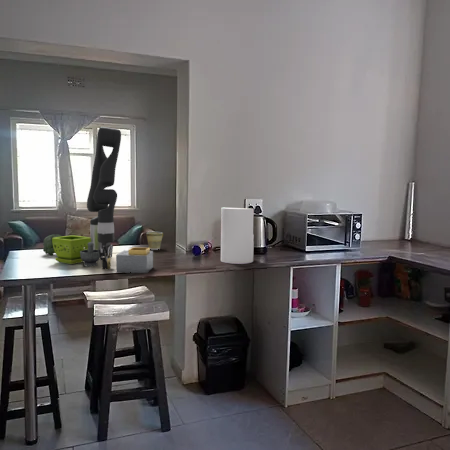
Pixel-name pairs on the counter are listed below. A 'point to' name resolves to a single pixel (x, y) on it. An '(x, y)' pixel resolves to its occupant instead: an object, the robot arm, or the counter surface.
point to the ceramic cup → (154, 240)
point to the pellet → (108, 263)
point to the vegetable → (49, 244)
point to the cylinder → (237, 235)
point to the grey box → (134, 260)
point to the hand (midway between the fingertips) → (106, 267)
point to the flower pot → (70, 248)
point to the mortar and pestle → (90, 255)
